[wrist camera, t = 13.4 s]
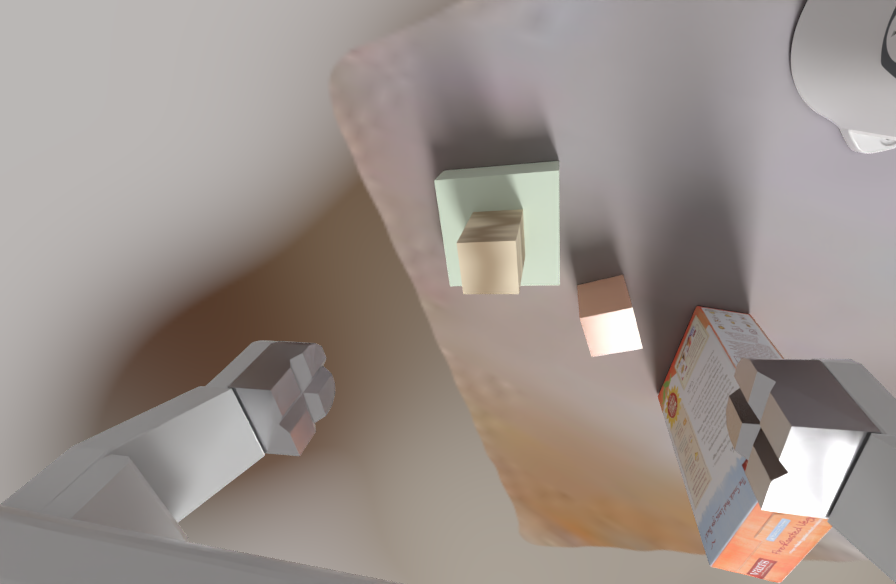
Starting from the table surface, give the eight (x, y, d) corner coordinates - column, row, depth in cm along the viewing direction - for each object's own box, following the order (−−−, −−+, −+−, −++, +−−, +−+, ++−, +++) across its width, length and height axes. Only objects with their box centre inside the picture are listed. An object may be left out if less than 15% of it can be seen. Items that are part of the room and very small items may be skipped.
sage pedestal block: (559, 160, 41) (559, 170, 38) (559, 268, 47) (559, 285, 43) (443, 170, 44) (434, 180, 41) (457, 270, 50) (450, 286, 47)
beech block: (523, 209, 40) (515, 240, 34) (525, 255, 43) (519, 293, 36) (473, 212, 42) (456, 242, 35) (477, 257, 44) (463, 294, 37)
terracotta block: (623, 274, 45) (632, 307, 40) (632, 311, 47) (642, 348, 42) (577, 285, 47) (579, 318, 42) (587, 320, 49) (591, 356, 43)
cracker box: (706, 405, 51) (782, 589, 34) (655, 395, 52) (703, 568, 35) (756, 312, 44) (886, 484, 27) (695, 302, 45) (783, 462, 28)
